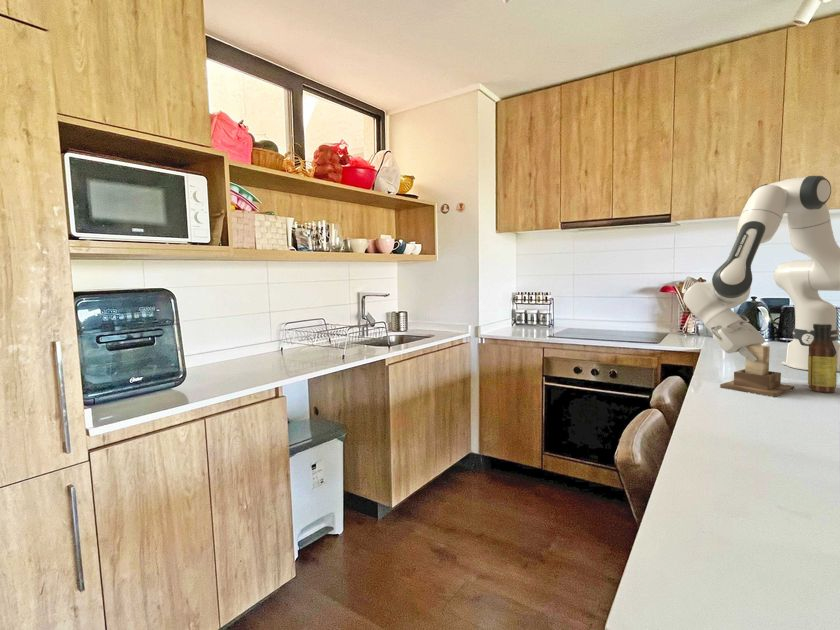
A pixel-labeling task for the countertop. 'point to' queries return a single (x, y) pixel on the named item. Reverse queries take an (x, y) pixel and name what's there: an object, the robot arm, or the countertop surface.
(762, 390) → the walnut stand
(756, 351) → the maple block
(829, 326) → the sauce bottle
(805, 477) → the countertop surface
